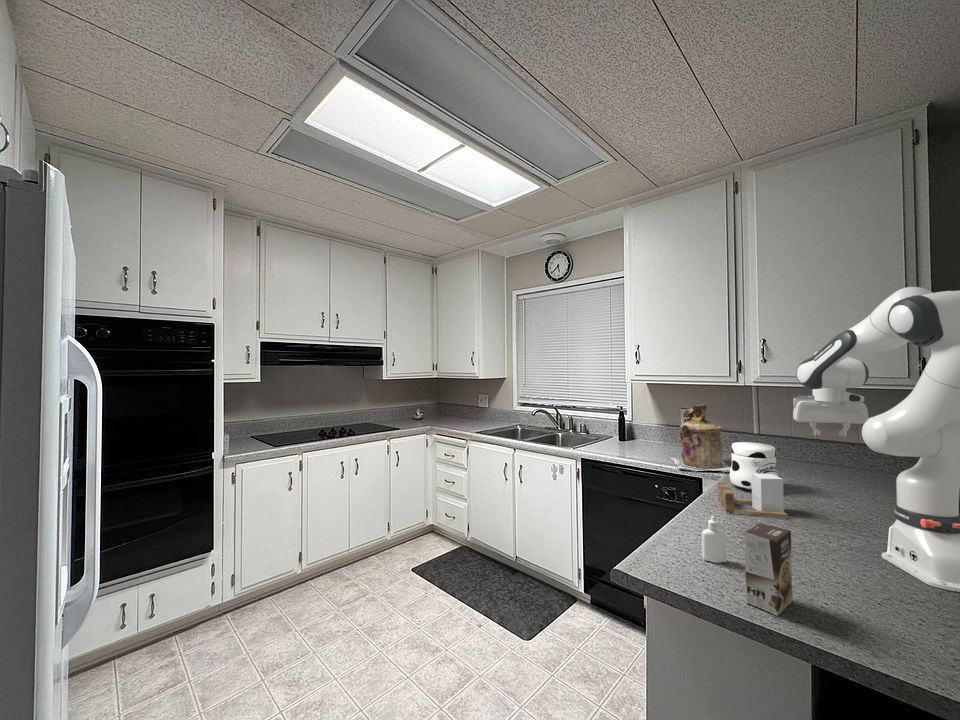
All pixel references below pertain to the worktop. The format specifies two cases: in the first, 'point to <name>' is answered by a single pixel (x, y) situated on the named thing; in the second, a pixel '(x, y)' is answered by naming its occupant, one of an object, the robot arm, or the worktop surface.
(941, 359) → the robot arm
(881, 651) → the worktop surface
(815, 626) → the worktop surface
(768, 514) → the guide rails
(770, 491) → the supplement box
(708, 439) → the cookie jar
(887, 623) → the worktop surface
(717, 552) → the eye dropper bottle
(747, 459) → the milk container
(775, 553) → the coffee box
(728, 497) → the stop board
